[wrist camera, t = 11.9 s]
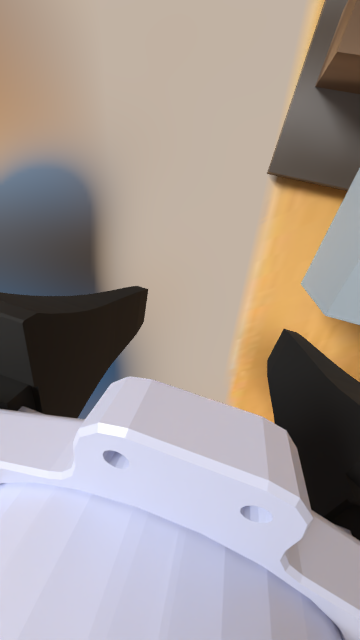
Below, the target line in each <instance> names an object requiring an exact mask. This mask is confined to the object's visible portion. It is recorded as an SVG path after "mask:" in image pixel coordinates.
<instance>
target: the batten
mask: <svg viewBox="0 0 360 640" xmlns="http://www.w3.org/2000/svg"><path fill="white" fill-rule="evenodd" d="M301 285H302V286H303V287H304V289H305V290H306V291H307V293H308V294H309V295H310V297H311V298H312V299H313V300H314V302H315V303H316V304H317V306H318V307H319V308H320V310H321V311H322V312H323V314H324V315H325V316H329V317H332V318H336V319H339V320H343V321H347V322H350V323H354V324H357V325H360V168H359V170H358V172H357V174H356V176H355V178H354V180H353V182H352V184H351V186H350V188H349V190H348V192H347V194H346V196H345V198H344V200H343V202H342V204H341V206H340V208H339V210H338V212H337V214H336V216H335V217H334V219H333V221H332V223H331V225H330V227H329V229H328V231H327V233H326V235H325V237H324V239H323V241H322V243H321V245H320V247H319V249H318V251H317V253H316V255H315V257H314V259H313V261H312V263H311V265H310V267H309V269H308V271H307V273H306V275H305V277H304V279H303V281H302V283H301Z"/></svg>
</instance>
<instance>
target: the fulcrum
mask: <svg viewBox="0 0 360 640" xmlns="http://www.w3.org/2000/svg"><path fill="white" fill-rule="evenodd" d="M359 168H360V0H325V2H324V5H323V8H322V11H321V14H320V17H319V20H318V23H317V26H316V29H315V32H314V35H313V38H312V41H311V44H310V47H309V50H308V53H307V56H306V59H305V62H304V65H303V68H302V71H301V74H300V77H299V80H298V83H297V86H296V89H295V92H294V95H293V98H292V101H291V104H290V107H289V110H288V113H287V116H286V119H285V121H284V124H283V127H282V130H281V133H280V136H279V139H278V142H277V145H276V148H275V151H274V154H273V157H272V160H271V163H270V166H269V169H268V172H267V174H271V175H276V176H280V177H285V178H290V179H294V180H299V181H304V182H308V183H313V184H317V185H322V186H327V187H331V188H336V189H341V190H345V191H348V190H349V188H350V186H351V184H352V182H353V180H354V178H355V176H356V174H357V172H358V170H359Z"/></svg>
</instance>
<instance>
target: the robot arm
mask: <svg viewBox="0 0 360 640" xmlns="http://www.w3.org/2000/svg"><path fill="white" fill-rule="evenodd" d="M147 294H148V289H145V288H142V287H139V286H133V287H127V288H122V289H117V290H112V291H107V292H101V293H95V294H88V295H77V296H29V295H17V294H8V293H0V640H360V382H358V381H357V380H356V379H354V378H353V377H351V376H350V375H349V374H347V373H346V372H345V371H343V370H342V369H341V368H339V367H338V366H337V365H336V364H334V363H333V362H332V361H331V360H330V359H328V358H327V357H326V356H325V355H324V354H322V353H321V352H320V351H319V350H318V349H317V348H316V347H314V346H313V345H312V344H311V343H310V342H309V341H307V340H306V339H305V338H304V337H302V336H301V335H300V334H298V333H296V332H293V331H290V330H286V329H284V330H283V331H282V333H281V335H280V337H279V339H278V341H277V343H276V345H275V347H274V349H273V350H272V352H271V354H270V356H269V358H268V360H267V377H268V384H269V390H270V396H271V402H272V407H273V413H274V421H275V424H274V423H272V422H271V421H269V420H267V419H265V418H264V417H262V416H259V415H256V414H253V413H250V412H247V411H244V410H241V409H238V408H235V407H232V406H230V405H227V404H224V403H220V402H218V401H215V400H212V399H209V398H206V397H203V396H200V395H197V394H194V393H191V392H188V391H185V390H182V389H179V388H176V387H173V386H171V385H168V384H165V383H162V382H158V381H156V380H152V379H144V378H136V377H126V378H124V379H121V380H119V381H116V382H114V383H112V384H111V385H110V386H109V387H108V389H107V390H106V392H105V393H104V394H103V396H102V397H101V399H100V400H99V401H98V403H97V404H96V405H95V407H94V408H93V410H92V411H91V412H90V414H89V415H88V416H87V418H86V419H78V416H79V415H80V413H81V411H82V409H83V408H84V406H85V404H86V402H87V401H88V399H89V398H90V396H91V394H92V393H93V391H94V390H95V388H96V386H97V385H98V383H99V382H100V380H101V379H102V377H103V375H104V374H105V373H106V371H107V370H108V368H109V367H110V365H111V364H112V363H113V362H114V360H115V359H116V358H117V357H118V355H119V354H120V353H121V352H122V351H123V350H124V349H125V347H126V346H127V345H128V344H129V342H130V341H131V340H132V339H133V338H134V336H135V335H136V334H137V332H138V331H139V329H140V327H141V325H142V324H143V322H144V316H145V309H146V301H147Z"/></svg>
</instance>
